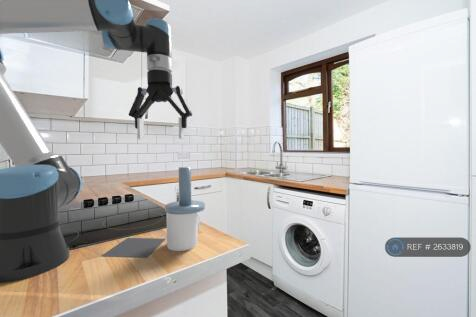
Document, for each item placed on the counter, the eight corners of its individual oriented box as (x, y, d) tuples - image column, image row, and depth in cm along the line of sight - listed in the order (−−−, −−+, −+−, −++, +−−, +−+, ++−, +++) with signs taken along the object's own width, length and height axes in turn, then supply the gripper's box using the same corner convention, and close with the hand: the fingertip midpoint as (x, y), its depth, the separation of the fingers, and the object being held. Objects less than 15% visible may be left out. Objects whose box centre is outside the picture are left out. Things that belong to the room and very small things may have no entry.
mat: (100, 258, 57) (100, 256, 57) (127, 239, 69) (127, 237, 69) (146, 260, 56) (146, 257, 56) (166, 240, 68) (165, 238, 68)
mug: (189, 234, 73) (188, 202, 73) (210, 239, 69) (210, 205, 69) (160, 249, 62) (159, 212, 62) (183, 255, 59) (183, 216, 58)
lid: (158, 213, 60) (157, 169, 60) (173, 204, 71) (172, 166, 71) (199, 214, 59) (198, 169, 59) (208, 204, 70) (208, 166, 70)
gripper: (115, 69, 71) (117, 138, 72) (194, 66, 69) (195, 137, 69) (129, 77, 78) (130, 139, 79) (200, 74, 76) (201, 138, 77)
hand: (161, 138), depth 74 cm, fingers open, 13 cm apart
